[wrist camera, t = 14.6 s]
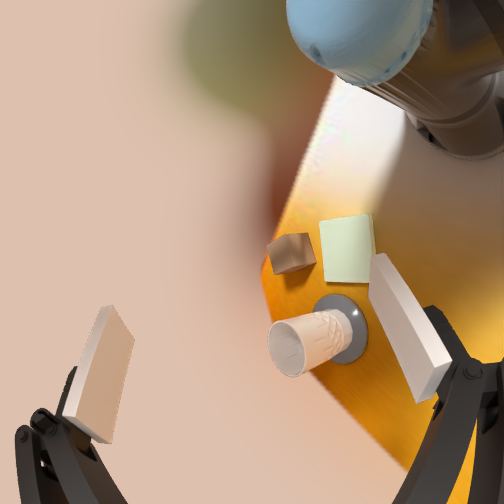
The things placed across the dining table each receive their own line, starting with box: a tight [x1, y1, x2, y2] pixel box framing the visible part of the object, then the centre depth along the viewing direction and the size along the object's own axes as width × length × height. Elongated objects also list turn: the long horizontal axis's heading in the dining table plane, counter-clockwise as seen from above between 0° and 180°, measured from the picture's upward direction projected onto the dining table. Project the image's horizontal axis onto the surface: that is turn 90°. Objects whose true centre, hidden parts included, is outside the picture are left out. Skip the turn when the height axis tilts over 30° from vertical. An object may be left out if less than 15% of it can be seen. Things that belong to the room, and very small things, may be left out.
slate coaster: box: [312, 294, 368, 364], centre depth 43 cm, size 11×11×1 cm
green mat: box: [319, 213, 376, 283], centre depth 40 cm, size 9×9×1 cm
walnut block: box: [267, 233, 317, 275], centre depth 48 cm, size 5×5×5 cm
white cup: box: [268, 309, 353, 377], centre depth 40 cm, size 8×8×10 cm
